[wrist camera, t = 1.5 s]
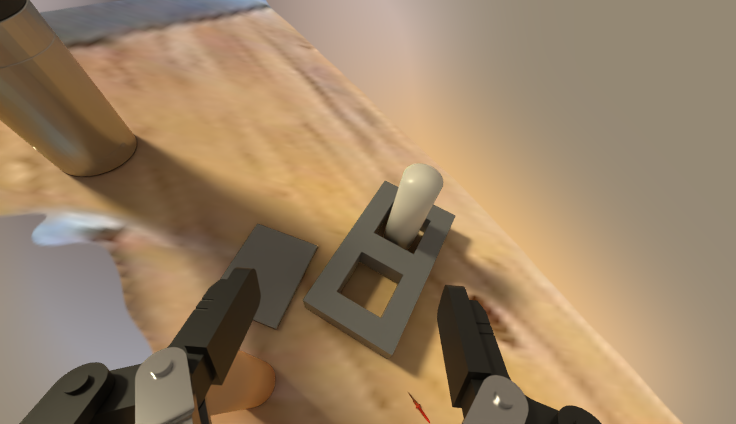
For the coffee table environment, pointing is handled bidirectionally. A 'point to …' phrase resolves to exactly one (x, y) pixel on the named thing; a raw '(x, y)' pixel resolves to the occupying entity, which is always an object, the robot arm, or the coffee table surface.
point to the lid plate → (274, 269)
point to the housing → (386, 258)
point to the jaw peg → (242, 385)
